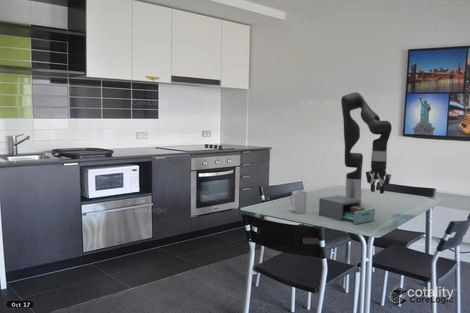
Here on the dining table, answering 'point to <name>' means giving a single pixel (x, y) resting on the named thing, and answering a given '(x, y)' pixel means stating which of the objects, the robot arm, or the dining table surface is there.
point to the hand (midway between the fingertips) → (377, 192)
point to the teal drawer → (360, 216)
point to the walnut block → (356, 209)
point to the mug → (299, 201)
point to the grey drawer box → (337, 206)
